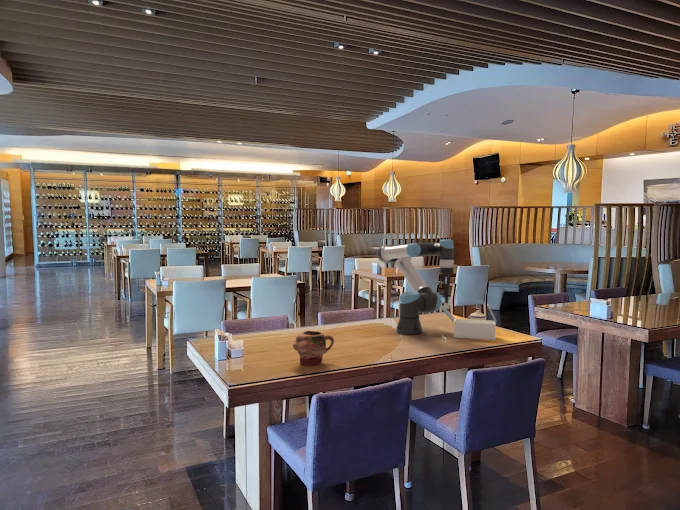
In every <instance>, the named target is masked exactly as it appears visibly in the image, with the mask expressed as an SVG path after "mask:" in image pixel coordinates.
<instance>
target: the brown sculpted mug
mask: <svg viewBox="0 0 680 510" xmlns="http://www.w3.org/2000/svg"><path fill="white" fill-rule="evenodd" d="M328 340H329V341H330V344H329V346H328V347H327V341H328ZM334 343H335V340H334V338H333V336H332V335H330V334H329V335H328V334H326V335H325V334H324V333H323V332H321V331H315V330H313V331H312V330H306V331H304V332H301V333H299V334H297V336H296V338H295V341H294V342H293V344H292V348H293V349H294V350H295V351H296V352H297V353H298V354H299V363H301V364H302V365H304V366H318V365H319V366H320V365H321V363H322V362H323V357H324V356H323V355H325V354H326V353H328V352H329V350H331V349H332V347H333V346H334Z"/></svg>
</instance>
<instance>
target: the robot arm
mask: <svg viewBox="0 0 680 510" xmlns="http://www.w3.org/2000/svg"><path fill="white" fill-rule="evenodd" d="M454 249H455V246H454V240H453V239H440V240H439V242H412V243H409V244H408V243H407V244H401V243H400V244H383V245H381V246H379V247H378V249H377V250H376V257H377V259H378V260H379V261H380V262H381V263H386V264H390V263H391V264H393V265H394V266H395V268H397V269H399V271H400V272H401V273H402V275H403V277H404V278H405V280H406V281H407V283H408V286H409V287H410V289H411V290H410V291H404V292H402V293H400V294H399V300H398V303H399V304H398V305H399V313H398V315H399V320H398V322H397V324H396V333H397V334H400V335H405V336H407V335H409V336H410V335H411V336H414V335H421V334H422V333H423V327H422V323H421V320H420V314H425V313H426V314H427V313H434V312H438V311H439V310H440V309H441V306H442V298H443V301H444V303H443V306H444V309H447V310H449V309H450V297H451V295H450V285H451V277H450V275H453V274H454V273H455V272H454V270H455V269H454V263H455V262H456V261H455V260H454ZM428 256H429V257H430V256H431V257H433V256H435V257H436V256H437V257H439V267H440V268H439V273H440V275H443V277H442V282H443V296H441V294H440V293H439V292H438V291H434V290H433V289H432V288H431V287H430V286H428V285H427V284H426V283H425V282H424V280H423V278H422V277H421V275H420V273H419V272H418V270H417V268H416V267H415V265H414V264H413V262H412V261H411V260H412V258H413V257H428Z"/></svg>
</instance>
